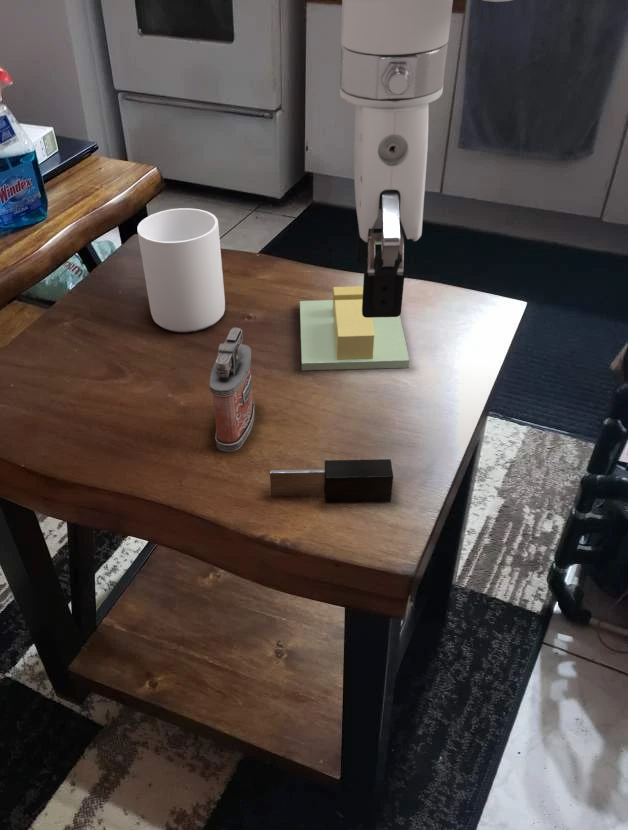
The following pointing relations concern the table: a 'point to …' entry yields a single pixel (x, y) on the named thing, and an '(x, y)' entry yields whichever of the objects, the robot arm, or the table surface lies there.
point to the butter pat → (347, 293)
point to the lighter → (232, 392)
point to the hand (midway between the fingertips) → (377, 287)
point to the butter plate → (322, 344)
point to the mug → (182, 268)
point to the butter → (352, 330)
